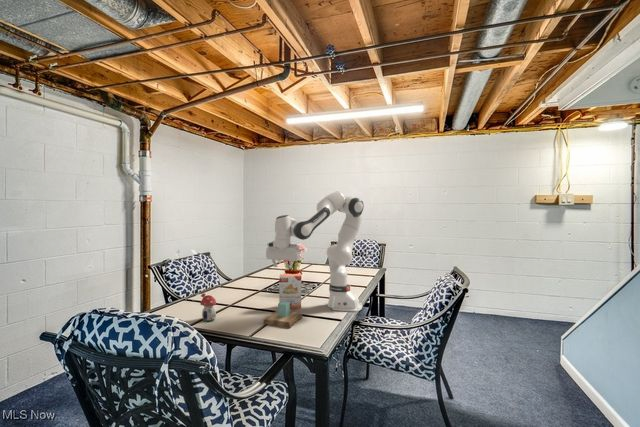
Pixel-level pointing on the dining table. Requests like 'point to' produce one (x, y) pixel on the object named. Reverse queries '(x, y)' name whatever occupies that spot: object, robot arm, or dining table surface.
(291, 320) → the base
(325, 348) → the dining table surface
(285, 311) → the block
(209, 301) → the decorative ornament
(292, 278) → the cracker box
